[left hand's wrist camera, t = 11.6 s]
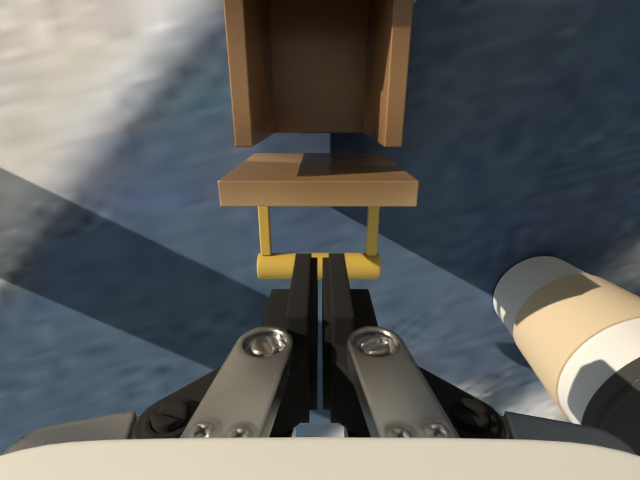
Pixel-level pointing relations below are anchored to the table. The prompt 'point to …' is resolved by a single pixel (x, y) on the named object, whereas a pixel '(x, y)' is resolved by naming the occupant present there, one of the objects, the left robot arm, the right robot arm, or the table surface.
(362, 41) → the drawer
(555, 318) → the coffee cup
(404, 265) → the table surface
